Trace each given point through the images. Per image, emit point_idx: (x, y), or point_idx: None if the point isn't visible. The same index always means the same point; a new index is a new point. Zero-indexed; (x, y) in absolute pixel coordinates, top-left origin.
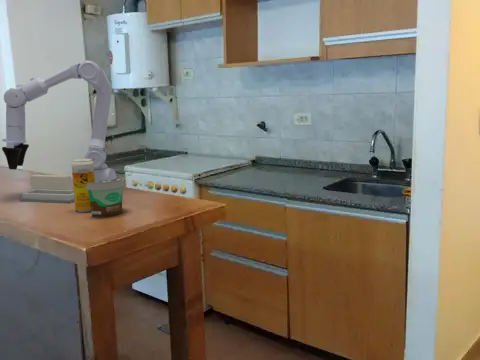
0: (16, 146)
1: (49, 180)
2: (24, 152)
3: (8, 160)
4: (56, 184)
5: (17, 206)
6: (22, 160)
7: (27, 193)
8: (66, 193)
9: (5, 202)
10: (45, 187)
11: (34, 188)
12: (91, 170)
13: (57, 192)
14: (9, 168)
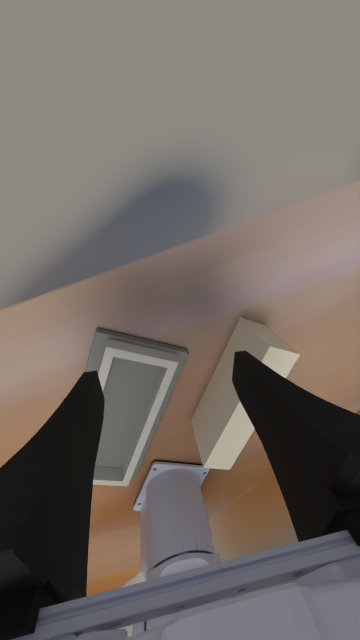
0: (323, 489)
1: (224, 407)
2: (275, 470)
3: (58, 422)
4: (210, 416)
5: (12, 350)
6: (246, 407)
7: (104, 365)
8: (133, 447)
9: (79, 285)
10: (223, 375)
11: (240, 335)
12: None
13: (141, 427)
14: (80, 377)
